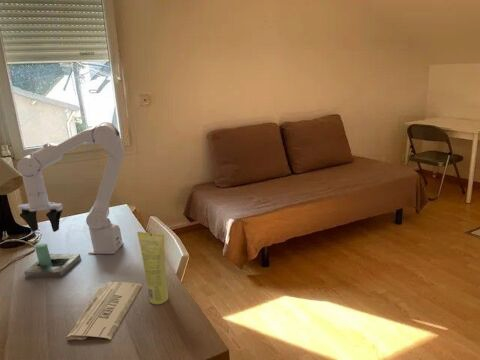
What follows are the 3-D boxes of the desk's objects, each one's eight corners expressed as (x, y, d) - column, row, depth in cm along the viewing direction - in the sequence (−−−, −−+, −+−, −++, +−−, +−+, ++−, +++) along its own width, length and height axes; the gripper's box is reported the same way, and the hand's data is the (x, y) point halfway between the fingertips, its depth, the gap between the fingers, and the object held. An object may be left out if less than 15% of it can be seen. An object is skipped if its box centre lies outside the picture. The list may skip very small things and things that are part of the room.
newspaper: (101, 287, 104) (101, 280, 103) (143, 291, 103) (142, 283, 102) (57, 344, 82) (56, 335, 82) (109, 349, 81) (108, 340, 81)
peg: (54, 265, 117) (49, 243, 114) (48, 271, 114) (42, 248, 111) (45, 265, 117) (39, 243, 115) (38, 271, 114) (32, 248, 112)
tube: (168, 291, 99) (159, 226, 93) (173, 300, 95) (164, 233, 89) (147, 297, 97) (137, 231, 91) (151, 307, 92) (141, 239, 87)
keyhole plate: (81, 259, 120) (79, 254, 119) (61, 277, 109) (60, 272, 109) (48, 259, 121) (46, 253, 121) (25, 277, 111) (24, 271, 110)
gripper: (7, 196, 113) (17, 235, 117) (49, 196, 111) (58, 235, 115) (22, 189, 120) (32, 226, 124) (62, 188, 118) (71, 226, 122)
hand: (45, 230), depth 120 cm, fingers open, 7 cm apart
